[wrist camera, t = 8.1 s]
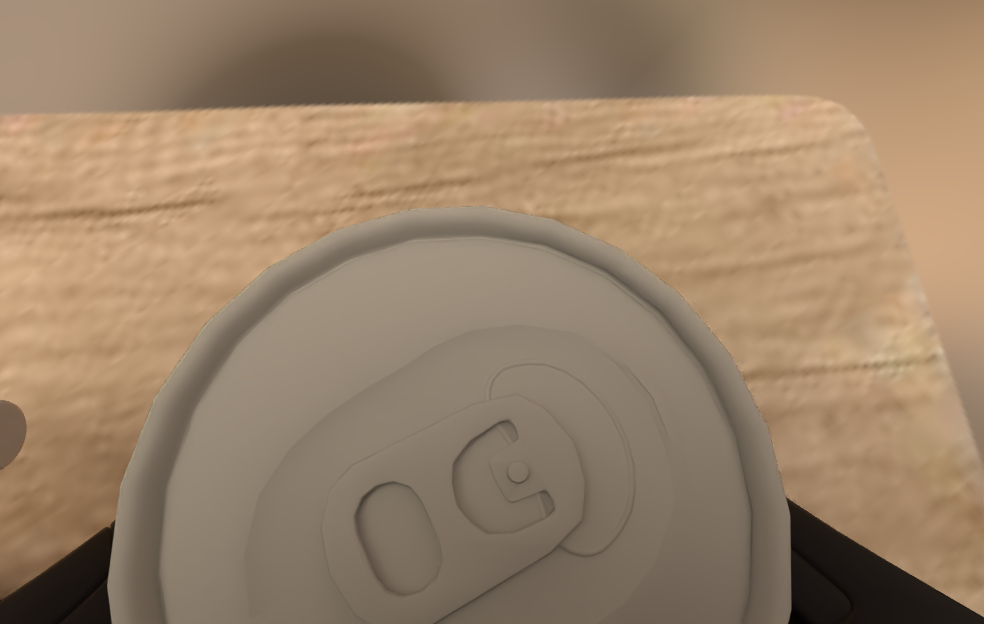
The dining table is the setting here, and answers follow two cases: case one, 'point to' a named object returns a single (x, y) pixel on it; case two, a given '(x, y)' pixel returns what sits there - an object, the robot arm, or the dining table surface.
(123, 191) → the dining table surface
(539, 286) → the beverage can
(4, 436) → the drawer
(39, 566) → the dining table surface
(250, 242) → the dining table surface
